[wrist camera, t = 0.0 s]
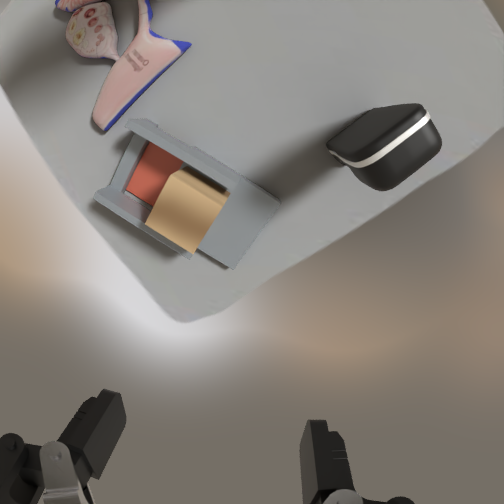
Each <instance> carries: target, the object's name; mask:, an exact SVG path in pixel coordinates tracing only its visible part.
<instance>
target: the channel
mask: <svg viewBox="0 0 504 504" xmlns="http://www.w3.org/2000/svg"><path fill="white" fill-rule="evenodd" d="M125 127H126V128H128V129H130V130H131V131H133V132H135V133H134V135H133V137H132V139H131V141H130V143H129V145H128V147H127V149H126V151H125V153H124V155H123V157H122V159H121V162H120V164H119V166H118V168H117V170H116V173H115V175H114V177H113V179H112V182H111V184H110V185H109V186H107V187H105V188H102V189H100V190H98V191H96V192H95V195H94V197H93V199H95V200H96V201H98V202H99V203H101V204H102V205H104V206H105V207H107V208H108V209H110V210H111V211H113V212H114V213H116V214H117V215H119V216H120V217H122V218H123V219H125V220H127V221H128V222H130V223H131V224H133V225H134V226H136V227H137V228H139V229H141V230H142V231H144V232H145V233H147V234H149V235H150V236H152V237H153V238H155V239H156V240H158V241H160V242H161V243H163V244H164V245H166V246H168V247H169V248H171V249H172V250H174V251H176V252H177V253H179V254H181V255H182V256H184V257H185V258H187V259H189V260H190V258H191V257H192V255H193V254H192V253H190V252H189V251H187V250H185V249H184V248H182V247H181V246H179V245H177V244H176V243H174V242H173V241H171V240H169V239H168V238H166V237H165V236H163V235H161V234H160V233H158V232H157V231H155V230H153V229H152V228H150V227H149V226H147V225H145V223H146V221H147V219H148V217H149V215H150V213H151V211H150V210H149V209H147V208H145V207H144V206H142V205H141V204H139V203H138V202H136V201H134V200H133V199H131V198H130V197H128V196H126V195H125V194H124V192H125V190H128V191H129V192H131V193H132V194H134V195H136V196H137V197H139V198H140V199H142V200H144V201H145V202H147V203H148V204H150V205H152V206H153V207H154V205H155V203H156V201H157V199H158V197H159V195H160V193H161V191H162V189H163V188H164V186H165V184H166V182H167V180H168V178H169V176H170V175H171V174H173V173H175V172H176V171H178V170H180V169H182V168H184V167H186V166H188V167H189V168H191V169H193V170H194V171H196V172H197V173H199V174H201V175H202V176H204V177H206V178H207V179H209V180H210V181H212V182H214V183H215V184H217V185H218V186H220V187H222V188H223V189H225V190H226V191H228V192H230V193H231V194H230V195H229V197H228V199H227V201H226V202H225V204H224V206H223V207H222V209H221V210H220V212H219V214H218V215H217V217H216V218H215V220H214V222H213V223H212V225H211V226H210V228H209V230H208V231H207V233H206V234H205V236H204V238H203V239H202V241H201V242H200V244H199V246H198V247H197V248H198V249H200V250H201V251H203V252H205V253H206V254H208V255H209V256H211V257H213V258H214V259H216V260H218V261H219V262H221V263H223V264H224V265H226V266H228V267H229V268H231V269H233V270H234V269H235V267H236V266H237V264H238V263H239V262H240V260H241V259H242V257H243V256H244V254H245V253H246V252H247V250H248V249H249V247H250V246H251V245H252V243H253V242H254V240H255V239H256V238H257V236H258V235H259V233H260V232H261V231H262V229H263V228H264V226H265V225H266V224H267V222H268V221H269V219H270V218H271V217H272V215H273V214H274V212H275V211H276V209H277V208H278V207H279V205H280V204H281V201H280V200H279V199H277V198H276V197H274V196H273V195H271V194H270V193H268V192H267V191H265V190H264V189H262V188H261V187H259V186H257V185H256V184H254V183H253V182H251V181H250V180H248V179H247V178H245V177H243V176H242V175H240V174H239V173H237V172H236V171H234V170H232V169H231V168H229V167H228V166H226V165H224V164H223V163H221V162H219V161H218V160H216V159H215V158H213V157H211V156H210V155H208V154H206V153H205V152H203V151H201V150H200V149H198V148H196V147H190V146H188V145H187V144H185V143H183V142H182V141H180V140H178V139H177V138H175V137H173V136H171V135H170V134H168V133H166V132H164V131H163V130H161V129H159V128H157V127H158V125H157V124H155V123H153V122H152V121H150V120H148V119H128V121H127V123H126V125H125ZM149 141H150V142H149ZM148 143H149V144H148ZM147 145H148V146H147ZM146 147H147V148H146ZM145 149H146V150H145ZM133 173H134V174H133ZM132 175H133V176H132ZM131 177H132V178H131ZM130 179H131V180H130ZM129 181H130V182H129ZM128 183H129V184H128Z"/></svg>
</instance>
